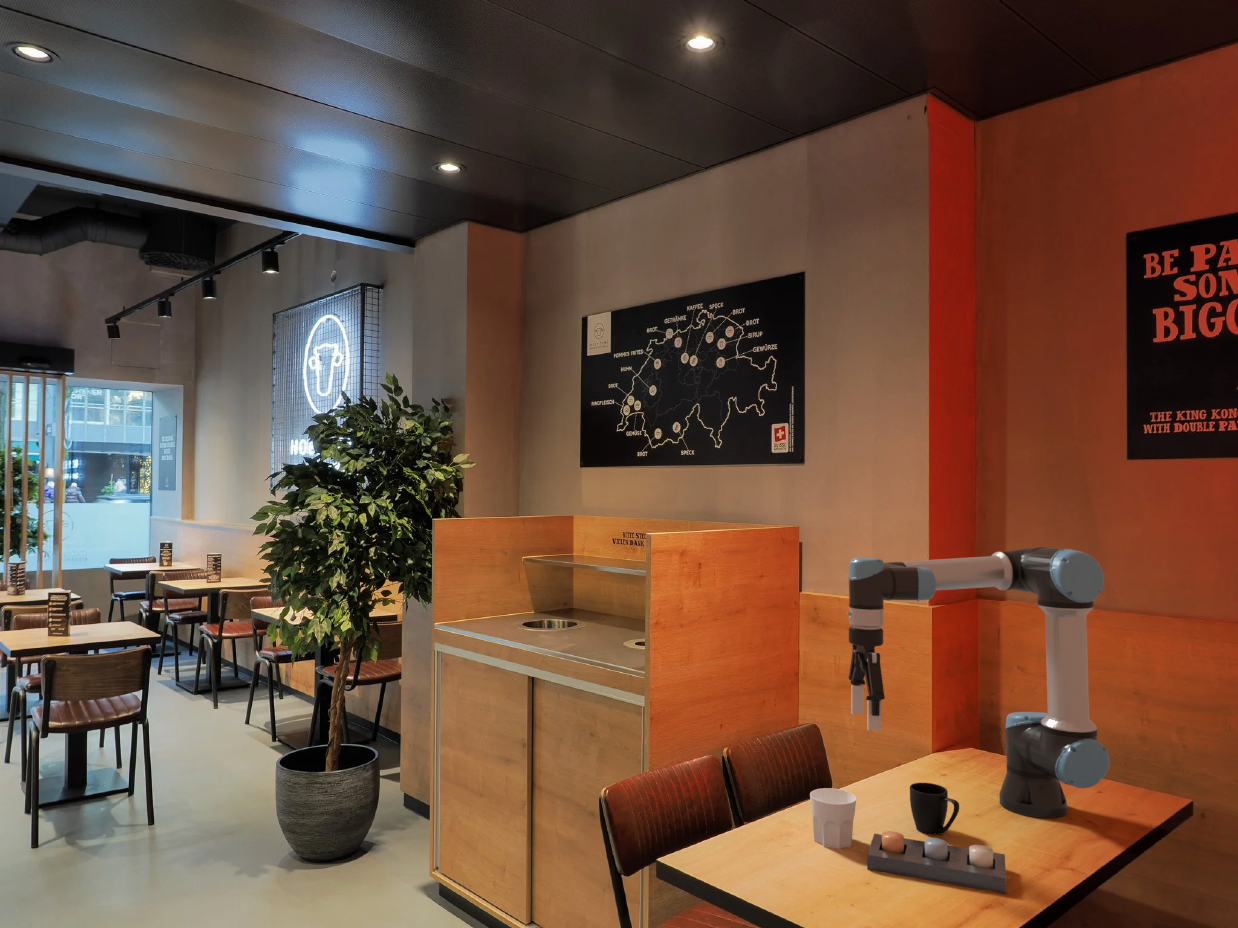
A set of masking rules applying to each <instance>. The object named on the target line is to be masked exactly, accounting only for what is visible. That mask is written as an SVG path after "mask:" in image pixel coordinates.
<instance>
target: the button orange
mask: <svg viewBox="0 0 1238 928" xmlns="http://www.w3.org/2000/svg"><path fill="white" fill-rule="evenodd" d="M881 835H882V851H888V852H894V853H900V854H904V838H905V836H904V835H903V834H902V833H900V832H898V831H891V830H888V831H887V830H886V831H884V832H882V833H881Z"/></svg>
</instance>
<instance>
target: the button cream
mask: <svg viewBox="0 0 1238 928" xmlns="http://www.w3.org/2000/svg"><path fill="white" fill-rule="evenodd" d="M968 848H969V862H970V865H972V866H978V867H984V868H990V869H993V852H994V850H993V848H991V847H988V846H985V845H984V844H983V845H982V844H981V845H980V844H972V845H970V846H969V847H968Z"/></svg>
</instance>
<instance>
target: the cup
mask: <svg viewBox="0 0 1238 928" xmlns="http://www.w3.org/2000/svg"><path fill="white" fill-rule="evenodd" d="M809 799H810V807H811V808H810V810H811V815H812V823H813V824H812V827H813V839H814V840H813V841H814V842H815V843H818V844H820V845H822V846H823V847H824V848H834V849H838V850H840V849H842V848H847V847H852V841H853V831H854V829H853V828H854V818H855V814H856V813H855V812H856V804H857V796H856V795H855V794H853V793H852V792H850V791H847V790H844V789H840V788H833V787H832V788H831V787H829V788H826V787H824V788H817V789H814V790H812V791H810V793H809Z"/></svg>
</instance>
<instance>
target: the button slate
mask: <svg viewBox="0 0 1238 928" xmlns="http://www.w3.org/2000/svg"><path fill="white" fill-rule="evenodd" d="M924 841H925V858H930V859H936V860H942V861H948V851H947V845H948V841H946V840H944V839H941V838H937V837H928V838H925V839H924Z"/></svg>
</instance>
